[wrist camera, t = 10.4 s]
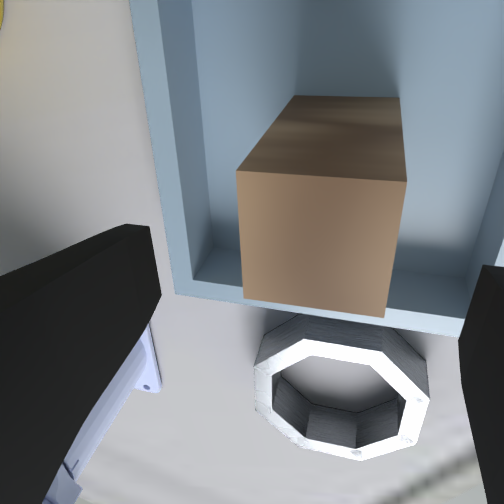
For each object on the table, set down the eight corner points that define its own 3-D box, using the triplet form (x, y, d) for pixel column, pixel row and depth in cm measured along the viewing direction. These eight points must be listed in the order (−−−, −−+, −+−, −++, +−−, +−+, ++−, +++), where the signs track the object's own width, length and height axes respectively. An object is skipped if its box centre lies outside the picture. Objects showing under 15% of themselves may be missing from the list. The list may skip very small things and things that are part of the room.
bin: (201, 255, 23) (175, 293, 20) (166, -64, 16) (117, -72, 13) (481, 290, 20) (496, 343, 17) (607, -90, 12) (671, -107, 10)
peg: (292, 188, 19) (243, 298, 13) (294, 95, 17) (235, 170, 10) (385, 195, 18) (384, 318, 12) (399, 97, 16) (407, 181, 10)
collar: (265, 404, 29) (255, 437, 27) (263, 299, 24) (252, 330, 22) (406, 434, 27) (408, 471, 25) (436, 325, 22) (441, 361, 20)
